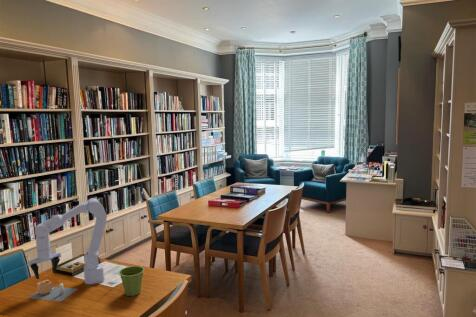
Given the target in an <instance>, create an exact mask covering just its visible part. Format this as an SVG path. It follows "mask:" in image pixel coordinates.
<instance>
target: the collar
mask: <svg viewBox="0 0 476 317" xmlns="http://www.w3.org/2000/svg"><path fill="white" fill-rule="evenodd" d="M42 282H46V284H43V285H42ZM52 282H53V281H51V280H49V279H45V280H42V281H39V282H37V283H36V290H37V291H36V292H39V293H40V294H43V293H46V292H49V291H52V287H53V283H52Z"/></svg>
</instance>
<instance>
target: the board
mask: <svg viewBox="0 0 476 317" xmlns="http://www.w3.org/2000/svg"><path fill="white" fill-rule="evenodd" d="M41 282H42V281H41ZM43 284H46V282H42V285H43ZM77 290H78V288H72V287H64V283H59V286H52V291H49V292H46V293H43V294H40V293H39V292H38V291H36V292H35V293H33V294H32V295H30V296H28V297H27V299H31V300H32V299H33V300H43V301H53V302H62V301H64V300H65V299H67V298H69V297H70V296H71V295H72V294H73V293H75V292H76V291H77Z"/></svg>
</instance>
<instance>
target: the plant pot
mask: <svg viewBox="0 0 476 317" xmlns="http://www.w3.org/2000/svg"><path fill="white" fill-rule="evenodd" d="M144 271H145V268H144V267H143V266H141V265H140V266H139V265H130V266H126V267H124V268H121V269H120V270H119V271H118V274H119V276H120V279H121V282H122V287H123V291H124V294H125V296H128V297H130V296H131V297H134V296H138V295H139V294H140V293H141V291H142V290H141V289H142V282H143V275H144Z"/></svg>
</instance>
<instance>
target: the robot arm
mask: <svg viewBox="0 0 476 317" xmlns="http://www.w3.org/2000/svg"><path fill="white" fill-rule="evenodd" d="M105 210H106V209H105V207H104V206H103V204H102V203H101V202H100V201H99V199H97V198H96V197H91V198H89V199H88V200H83V202H81V203H80V204H77V205H76V206H74V207H72V208H71V209H69V210H68V211H66V212H64V213H63V214H53V215H52V216H51V218H49V219H47V220H46V221H45V220H43V221H42V222H41V223H39V224H37V225H36V226H35V229H34V234H35V244H36V254H37V257H36V258H33V259H30V260H28V261H26V265H27V267H30V269H31V270H32V272H33V273H34V276H35V279H36V280H39V279H40V274H39V268H40V267H39V265H38V264H40V263H44V262H48V261H50V260H51V267H52V269H51V270H52V273H53V274H56V273H57V267H58V266H59V263H60V260H61V259H60V258H62V254H61V252H54V253H52V252H51V251H52V250H51V241H50V236H49V234H50V233H51V232H53V231H55V230H57V229H59V228H60V227H62V226H64V225H65V224H66V221H68V220H69V219H71V218H73V217H76V216H77V215H79V214H81V213H83V214H88V213H90V214H92V215H93V216H94V217H95V218H96V219H95V222H94V225H93V231H92V235H91V239H90V241H89V246H88V248H87V251H86V253H85V254H84V255H83V262H84V266H83V277H84V278H83V279H84V284H85V285H94V284H98V283H104V281H105V275H104V265H99V264H100V263H99V254H100V252H99V251H100V246H101V242H102V238H103V235H104V230H105V226H106V222H107V218H108V215H107V212H106V211H105Z"/></svg>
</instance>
